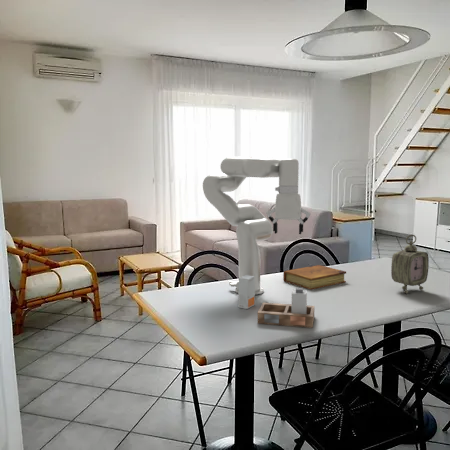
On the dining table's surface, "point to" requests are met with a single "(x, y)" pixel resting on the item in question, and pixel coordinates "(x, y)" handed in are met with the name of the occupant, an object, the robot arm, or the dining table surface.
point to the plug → (299, 301)
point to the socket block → (284, 315)
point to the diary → (314, 276)
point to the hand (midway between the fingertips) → (288, 233)
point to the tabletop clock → (410, 266)
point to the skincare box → (246, 291)
